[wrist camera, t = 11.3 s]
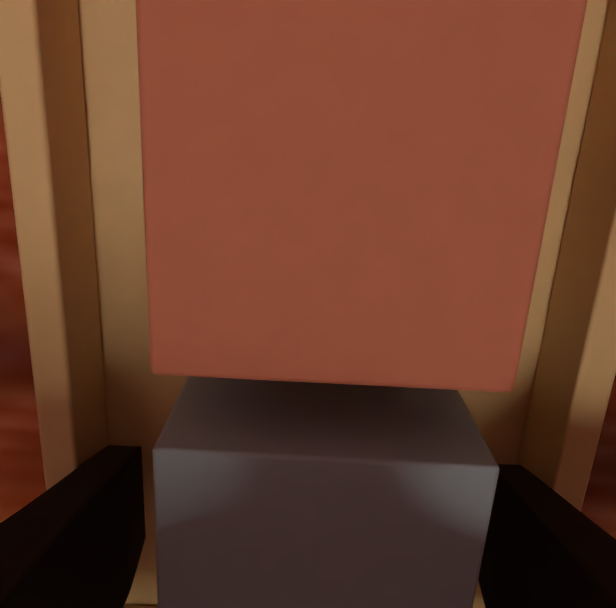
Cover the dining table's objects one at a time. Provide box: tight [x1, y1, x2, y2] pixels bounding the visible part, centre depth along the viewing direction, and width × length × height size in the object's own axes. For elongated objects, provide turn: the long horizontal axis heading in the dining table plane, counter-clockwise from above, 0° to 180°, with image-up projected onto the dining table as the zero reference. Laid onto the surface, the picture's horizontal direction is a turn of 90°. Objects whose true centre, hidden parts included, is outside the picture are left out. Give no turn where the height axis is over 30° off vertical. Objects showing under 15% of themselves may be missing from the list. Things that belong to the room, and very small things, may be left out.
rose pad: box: [136, 0, 587, 393], centre depth 7 cm, size 4×6×4 cm, turn 177°
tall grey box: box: [153, 376, 500, 608], centre depth 9 cm, size 4×6×4 cm, turn 177°
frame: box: [0, 0, 616, 608], centre depth 10 cm, size 9×15×2 cm, turn 177°
